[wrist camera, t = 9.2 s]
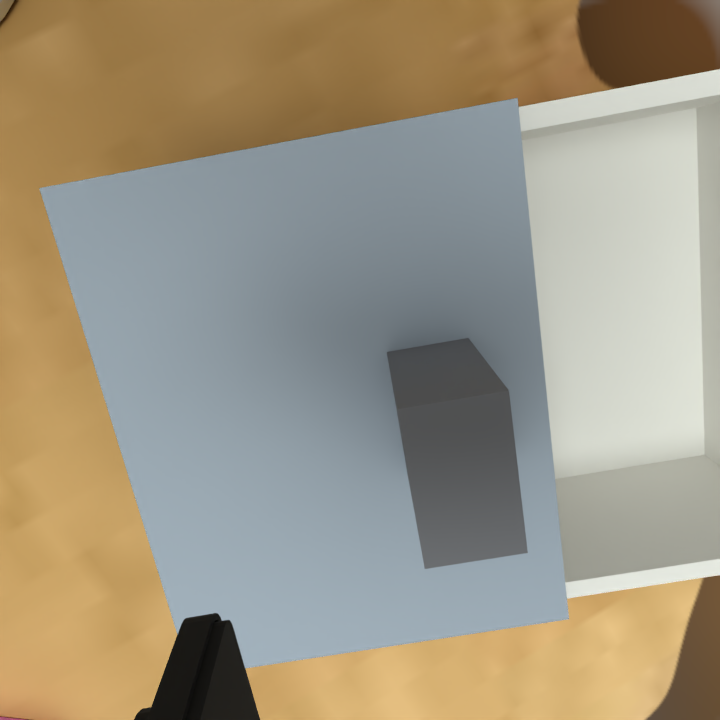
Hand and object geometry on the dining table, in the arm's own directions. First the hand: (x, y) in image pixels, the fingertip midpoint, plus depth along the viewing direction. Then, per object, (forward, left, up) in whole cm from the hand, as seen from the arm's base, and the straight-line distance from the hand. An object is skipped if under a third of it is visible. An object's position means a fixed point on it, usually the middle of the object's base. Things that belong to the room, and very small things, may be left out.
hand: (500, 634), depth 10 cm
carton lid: (0, -4, -13) cm, 13 cm away
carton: (0, +8, -23) cm, 24 cm away
